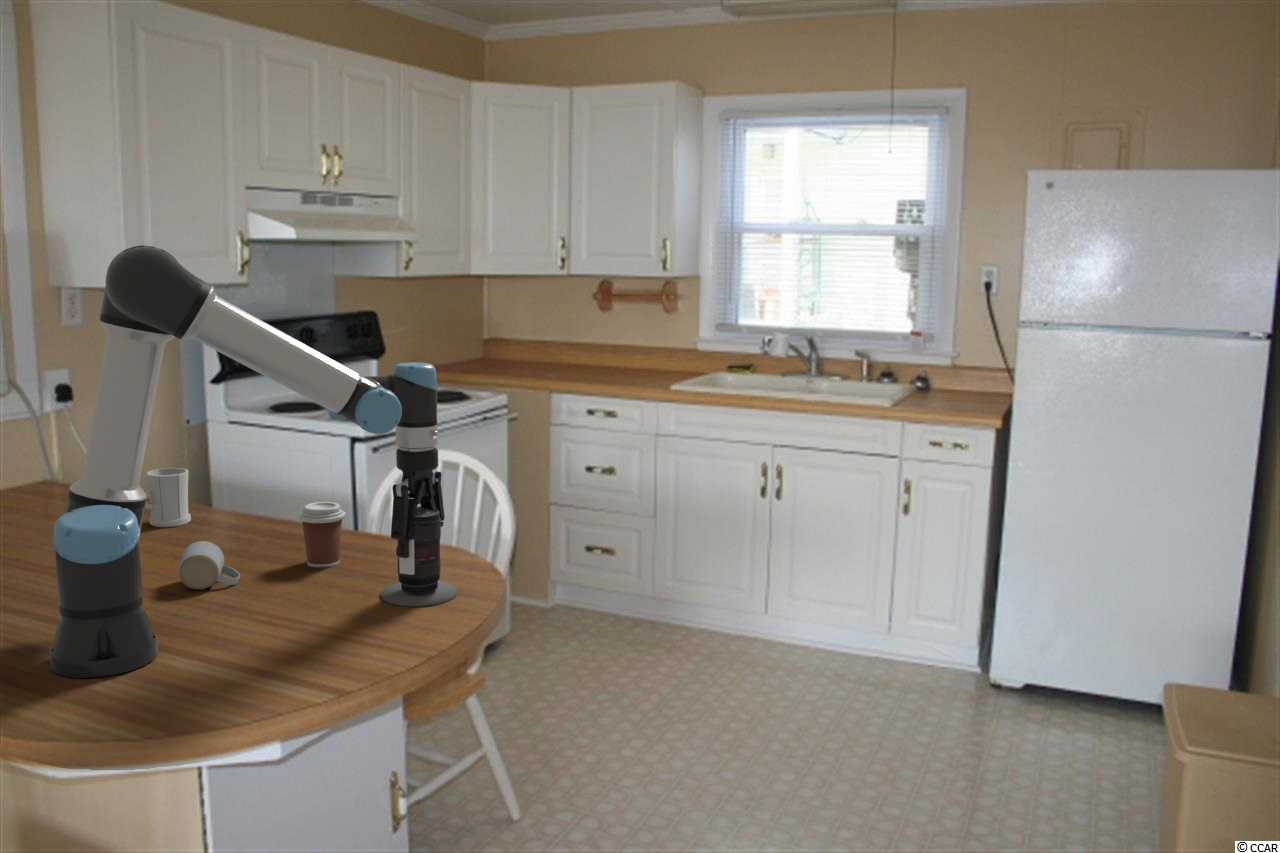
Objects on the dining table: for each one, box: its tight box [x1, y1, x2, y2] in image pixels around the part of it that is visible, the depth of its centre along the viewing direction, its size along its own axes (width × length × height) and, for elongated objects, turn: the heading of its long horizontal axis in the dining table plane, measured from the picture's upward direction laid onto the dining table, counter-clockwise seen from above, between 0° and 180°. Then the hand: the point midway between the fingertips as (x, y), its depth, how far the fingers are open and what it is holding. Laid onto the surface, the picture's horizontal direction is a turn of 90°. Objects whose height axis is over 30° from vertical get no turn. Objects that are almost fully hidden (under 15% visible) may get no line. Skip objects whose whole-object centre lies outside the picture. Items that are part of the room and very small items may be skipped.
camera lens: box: [395, 505, 442, 594], centre depth 202 cm, size 8×8×15 cm
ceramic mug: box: [178, 540, 241, 590], centre depth 206 cm, size 11×8×8 cm
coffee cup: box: [298, 501, 346, 568], centre depth 221 cm, size 9×9×12 cm
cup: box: [141, 467, 192, 528], centre depth 248 cm, size 10×9×12 cm
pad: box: [380, 580, 458, 608], centre depth 204 cm, size 14×14×1 cm
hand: (419, 566), depth 203 cm, fingers closed on camera lens, 8 cm apart
